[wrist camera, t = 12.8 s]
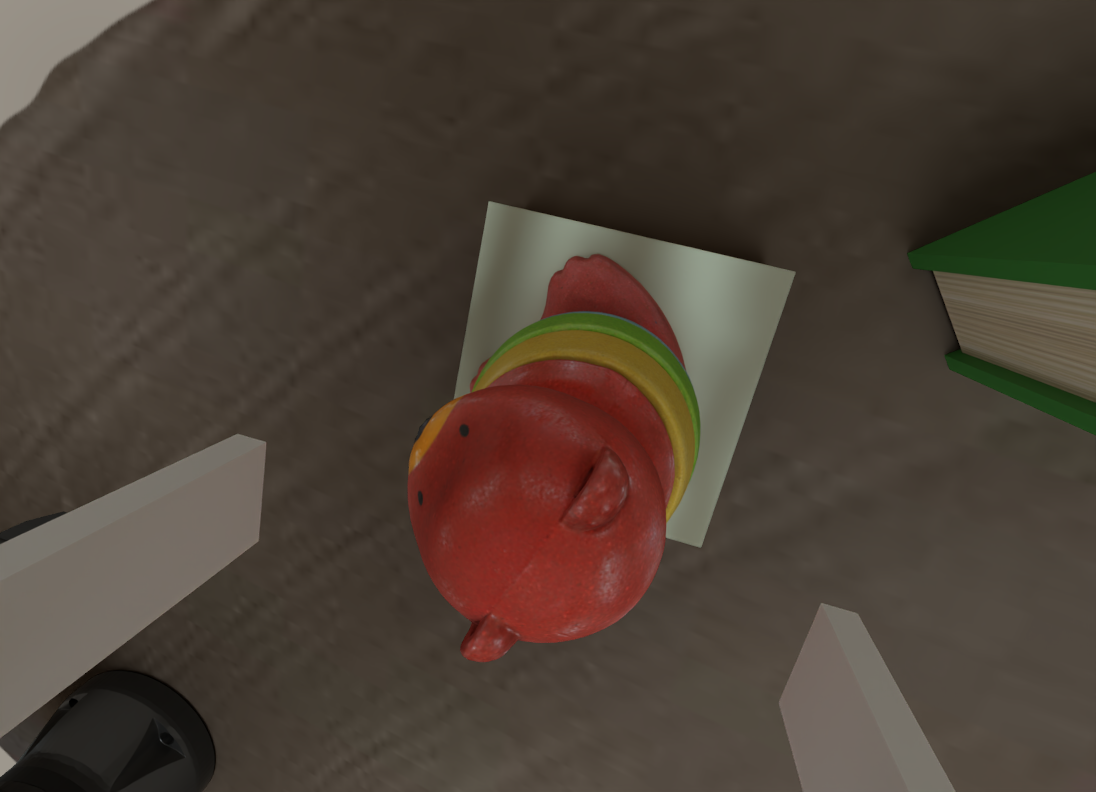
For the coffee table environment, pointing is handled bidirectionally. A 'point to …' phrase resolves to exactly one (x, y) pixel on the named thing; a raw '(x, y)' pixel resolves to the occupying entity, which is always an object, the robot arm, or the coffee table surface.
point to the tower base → (682, 294)
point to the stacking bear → (558, 466)
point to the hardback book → (1026, 300)
